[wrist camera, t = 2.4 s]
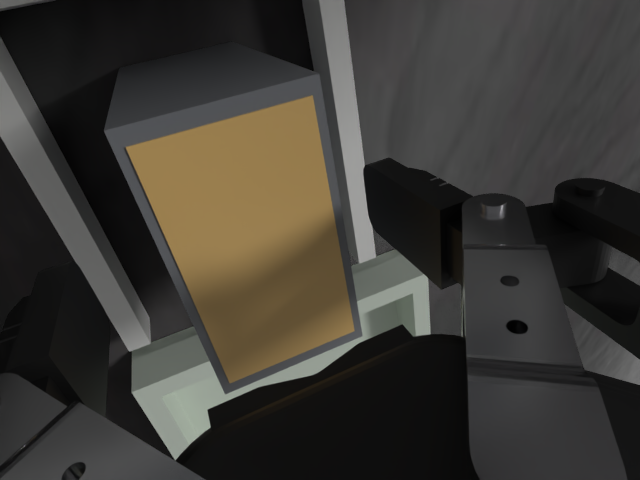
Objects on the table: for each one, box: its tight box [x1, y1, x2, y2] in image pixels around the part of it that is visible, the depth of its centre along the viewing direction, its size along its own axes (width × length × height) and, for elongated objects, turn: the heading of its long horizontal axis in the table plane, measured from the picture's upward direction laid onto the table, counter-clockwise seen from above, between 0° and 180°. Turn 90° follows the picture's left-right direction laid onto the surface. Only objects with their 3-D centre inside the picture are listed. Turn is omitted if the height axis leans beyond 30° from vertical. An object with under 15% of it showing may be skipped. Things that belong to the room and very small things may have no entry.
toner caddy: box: [104, 41, 363, 394], centre depth 15 cm, size 4×8×10 cm, turn 10°
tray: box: [132, 249, 430, 460], centre depth 28 cm, size 16×20×3 cm
